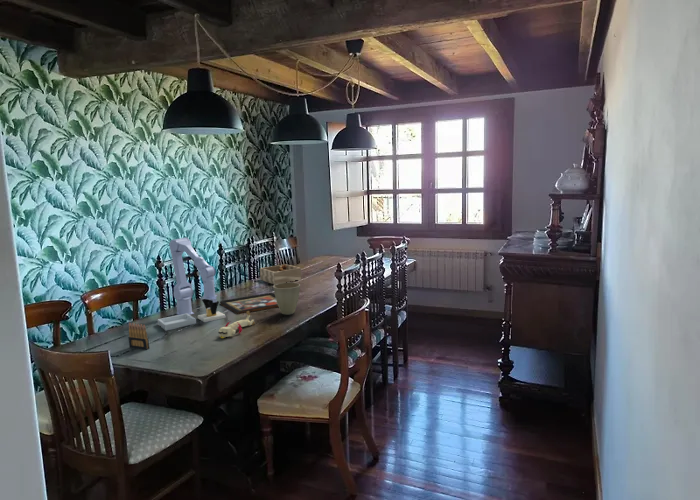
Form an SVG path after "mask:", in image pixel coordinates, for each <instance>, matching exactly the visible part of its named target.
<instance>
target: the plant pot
mask: <svg viewBox="0 0 700 500" xmlns="http://www.w3.org/2000/svg"><path fill="white" fill-rule="evenodd" d="M272 288H273V293H274V294H275V297H276V301H277V304H278V306H279V307H278V309H279V311H280V313H281V315H293V314H295V312H296V309H297V305H298V301H299V297H300V288H301V284H300V283H298V282H287V283H279V284H276V285H274V284H273V287H272Z"/></svg>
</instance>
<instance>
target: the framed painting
mask: <svg viewBox="0 0 700 500" xmlns="http://www.w3.org/2000/svg"><path fill="white" fill-rule="evenodd" d="M219 304H220V305H221V306H222V307H225V308H226V309H228V310H230V311H231V312H233V313H234V314H236V315H240V314H241V315H242V314H246V312H247V311H249V312H250V313H251V314H252V313H255V312H256V313H257V312H260V311H266V310H270V309H277V308H279V306H278V304H277V301H276V297H275V293H274V292H268V293H260V294H255V295H250V296H249V295H248V296H243V297H242V296H241V297H237V298H231V299H224V300H219Z"/></svg>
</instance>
